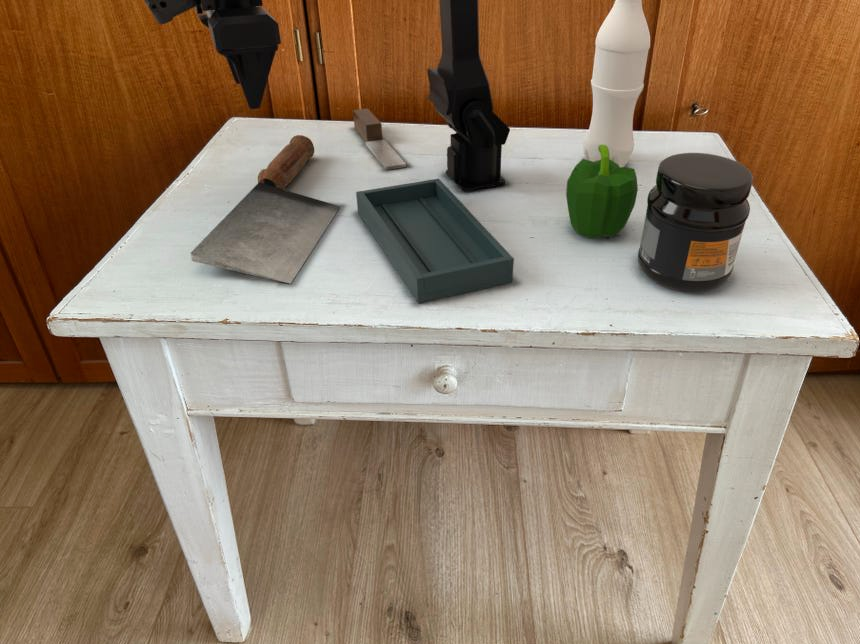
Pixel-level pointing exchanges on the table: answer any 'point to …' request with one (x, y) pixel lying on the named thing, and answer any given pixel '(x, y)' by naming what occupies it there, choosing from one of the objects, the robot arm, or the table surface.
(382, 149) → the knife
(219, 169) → the table surface
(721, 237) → the supplement container
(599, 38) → the water bottle
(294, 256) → the meat cleaver
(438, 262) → the tray
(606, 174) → the bell pepper
